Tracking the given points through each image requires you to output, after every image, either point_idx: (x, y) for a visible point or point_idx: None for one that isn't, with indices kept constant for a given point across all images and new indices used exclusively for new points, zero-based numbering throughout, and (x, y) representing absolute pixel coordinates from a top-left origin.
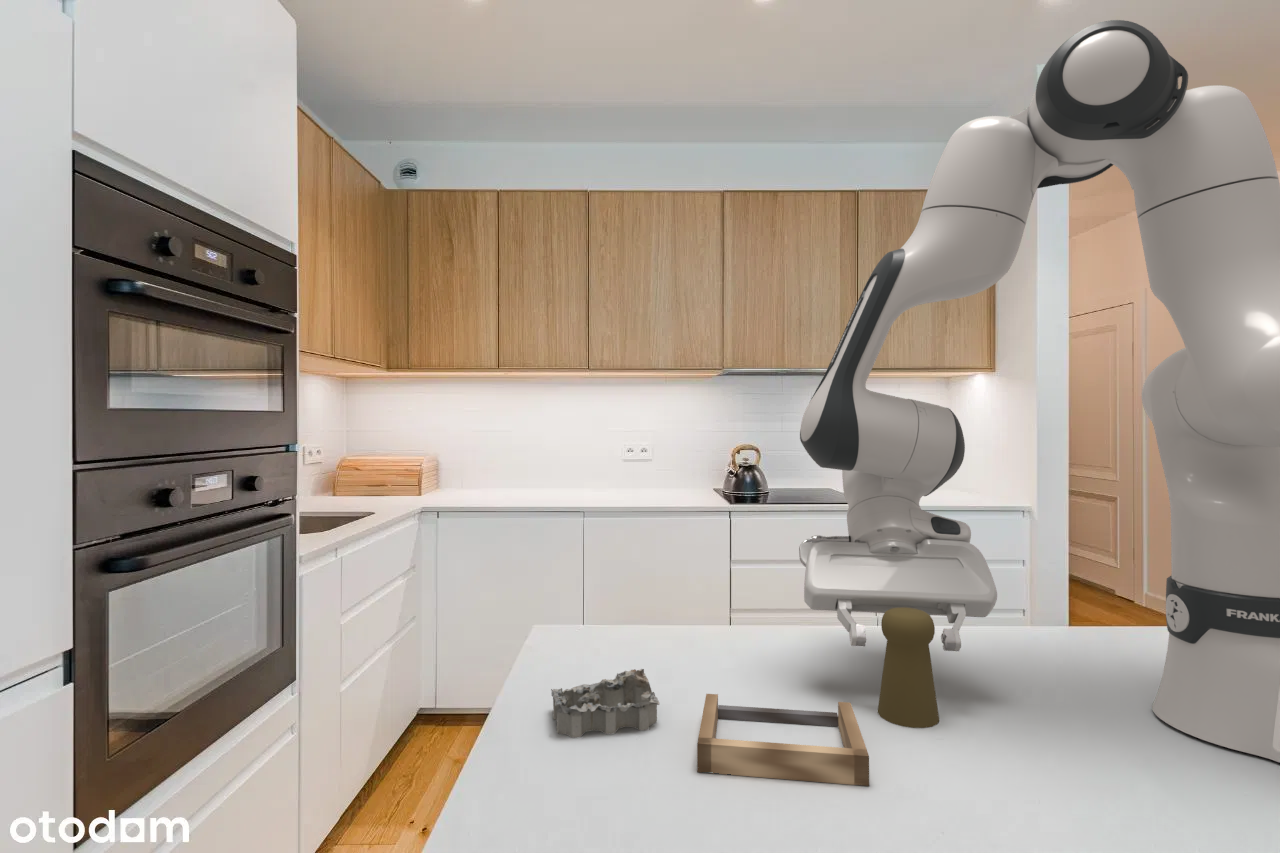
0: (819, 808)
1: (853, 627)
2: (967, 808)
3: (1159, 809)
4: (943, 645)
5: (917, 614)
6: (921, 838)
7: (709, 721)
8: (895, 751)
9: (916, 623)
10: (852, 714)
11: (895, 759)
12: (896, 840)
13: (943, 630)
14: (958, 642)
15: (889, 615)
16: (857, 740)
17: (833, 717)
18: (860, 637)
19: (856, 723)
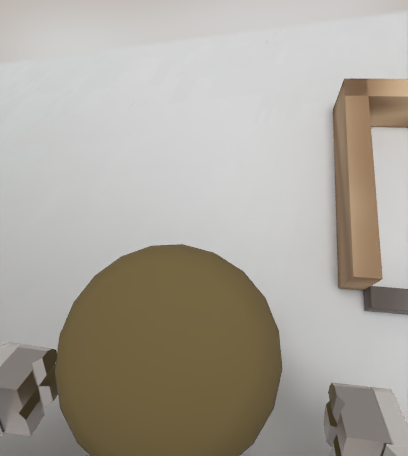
0: (402, 61)
1: (398, 426)
2: (222, 82)
3: (11, 105)
4: (52, 390)
5: (132, 285)
6: (292, 31)
7: None
8: (273, 205)
9: (161, 247)
10: (355, 216)
11: (279, 181)
12: (319, 25)
13: (20, 395)
14: (13, 346)
15: (257, 316)
16: (357, 119)
17: (379, 287)
18: (357, 386)
19: (351, 180)
